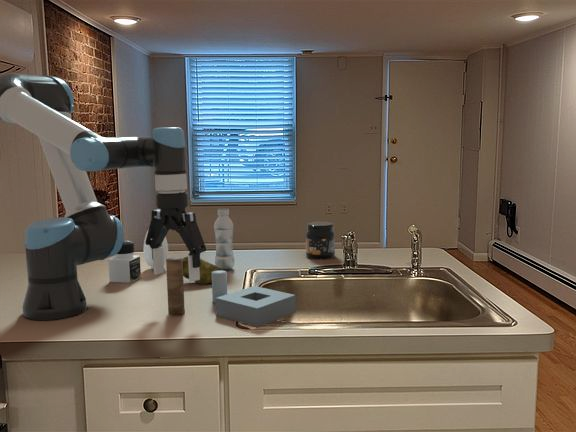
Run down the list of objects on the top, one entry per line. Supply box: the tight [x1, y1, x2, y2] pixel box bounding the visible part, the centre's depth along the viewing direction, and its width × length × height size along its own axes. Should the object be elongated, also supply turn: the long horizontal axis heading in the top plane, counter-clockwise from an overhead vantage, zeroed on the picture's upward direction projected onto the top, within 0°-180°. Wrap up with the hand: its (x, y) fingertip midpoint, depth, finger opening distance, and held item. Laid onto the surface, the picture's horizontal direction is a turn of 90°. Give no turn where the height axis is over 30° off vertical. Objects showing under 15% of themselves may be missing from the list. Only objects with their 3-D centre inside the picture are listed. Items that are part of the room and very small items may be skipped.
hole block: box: [215, 285, 297, 328], centre depth 145 cm, size 14×14×4 cm
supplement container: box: [305, 221, 336, 260], centre depth 209 cm, size 10×10×12 cm
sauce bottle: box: [142, 228, 169, 269], centre depth 193 cm, size 8×8×18 cm
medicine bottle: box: [107, 240, 142, 284], centre depth 179 cm, size 7×7×12 cm
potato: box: [182, 256, 223, 285], centre depth 175 cm, size 8×13×8 cm, turn 74°
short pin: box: [211, 270, 228, 304], centre depth 156 cm, size 4×4×8 cm
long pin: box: [165, 256, 185, 317], centre depth 145 cm, size 4×4×14 cm
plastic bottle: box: [213, 208, 235, 271], centre depth 190 cm, size 6×7×20 cm
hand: (176, 277), depth 145 cm, fingers open, 13 cm apart
